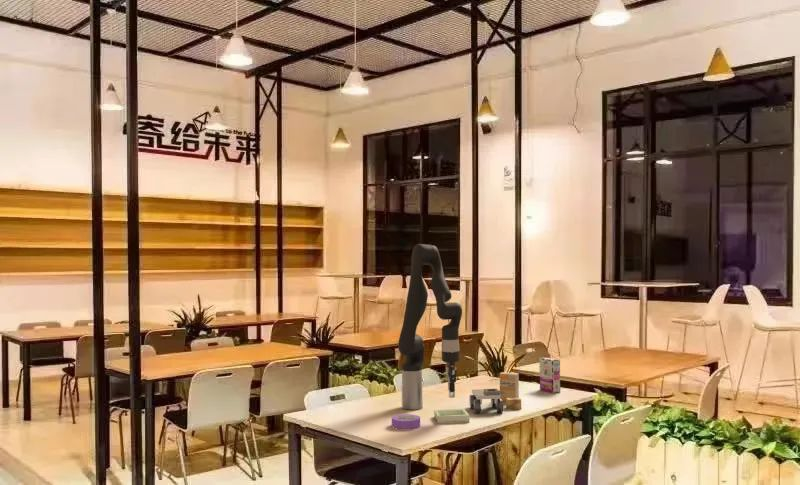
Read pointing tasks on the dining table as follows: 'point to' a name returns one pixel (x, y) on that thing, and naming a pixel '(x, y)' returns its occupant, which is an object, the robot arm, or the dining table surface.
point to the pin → (451, 393)
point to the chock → (513, 403)
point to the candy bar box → (549, 375)
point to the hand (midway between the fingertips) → (451, 390)
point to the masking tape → (406, 421)
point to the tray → (451, 416)
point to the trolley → (486, 394)
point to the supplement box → (509, 385)
